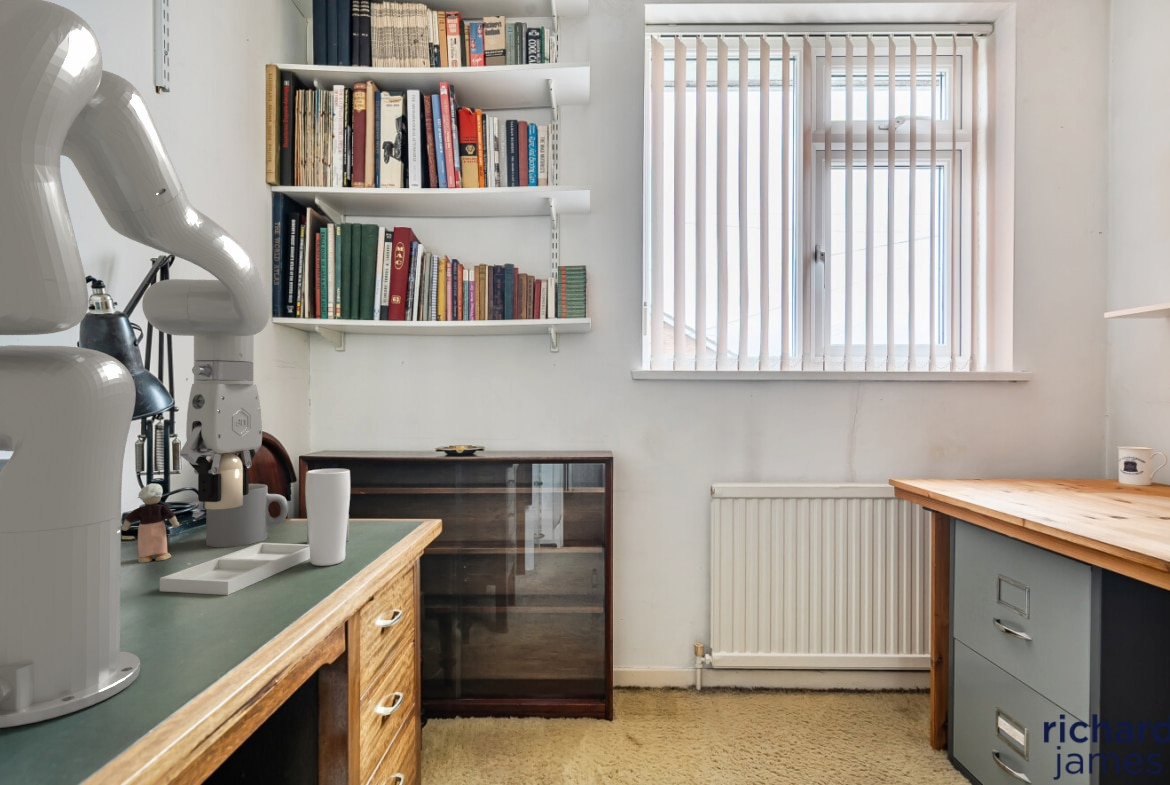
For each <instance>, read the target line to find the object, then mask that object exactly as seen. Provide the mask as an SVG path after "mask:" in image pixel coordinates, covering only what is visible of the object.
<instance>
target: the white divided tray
mask: <svg viewBox="0 0 1170 785" xmlns="http://www.w3.org/2000/svg"><path fill="white" fill-rule="evenodd" d="M308 560H310V545H309V544H307V543H306V544H303V543H300V544H299V543H276V542H258V543H255V544H252V545H250V546H248V547H244V548H242V549H239V550H237V551H233V552H230V553H227V554H225V555H223V556H220V557H217V558H213V559H211V560H208V561H205V562H203V563H200V564H196V565H193V566H191V567H188V568H184V569H181V570H179V571H177V572H174V573H171V574H168V575H165V576H161V577H160V578H159V592H168V593H170V592H171V593H187V594H203V595H221V596H229V595H231V594H234V593H235V592H238V591H241V590H243V589H245V588H247V587H249V586H252V585H254V584H256V583H258V582H260V581H263V580H265V579H267V578H270V577H272V576H274V575H277V574H279V573H281V572H283V571H286V570H288V569H290V568H292V567H294V566H297V565H299V564H301V563H303V562H306V561H308Z"/></svg>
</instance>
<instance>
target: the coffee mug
mask: <svg viewBox="0 0 1170 785" xmlns="http://www.w3.org/2000/svg"><path fill="white" fill-rule="evenodd" d="M268 488H269V487H268V485H267V484H263V483H262V484H261V483H249V492H248V494H247V495H243V505H242V506H239V507H235V508H229V509H205V510H206V515H205V519H206V520H205V521H206V524H205V525H206V528H205V530H206V531H205V532H206V533H205V534H206V535H205V544H206V546H208V547H213V548H214V547H215V548H232V547H240V546H241V547H242V546H249V545H255V544H259V543H262V542H263V541H266V540H267V539H268V533H269V531H270V529H271V528H273V527H275V526H278V525H280V524H282V523H283V522H284V521H285V520H286V518H287V516H288V513H289V512H288V511H289V503H288V500H287V499H286V497H285V496H283V495H281V494H277V493H268ZM272 502H277V503H278V504H279V506H280V513H279V514H278V516H276V517H273V516H271V515H270V512H269V508H270V504H272Z"/></svg>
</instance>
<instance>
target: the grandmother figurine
mask: <svg viewBox="0 0 1170 785" xmlns="http://www.w3.org/2000/svg"><path fill="white" fill-rule="evenodd" d="M163 492H164V491H163V486H162V485H161V484H159V483H149V484H146V485H145V486H144V487H142V488H141V490H140V491H139V492H138V497H137V498H138V499H140V500H141V501H142V503H144V504H145V505H144V506H143V505H142V506H139V507H137V508H135V509H134V510H132V511H131V512H129V513H128V514H127V515H126V516H125V517H124V519H125V520H124V521H123V524H121V531H126V532H127V531H128V530H129V529H130V526H131V525H132V524H133V523H136V522H139V525H138V530H137V548H138V549H137V550H138V557H139V558H138V559H137V562H138V563H140V564H143V563H144V564H145V563H149V562H152V561H153V559H154V558H153V556H154V555H157V556H156V557H155V559H154V560H155V561H159V562H160V561H166V560H168V559H171V558H172V555H171V554H170V553H169V552H168V540H167V530H166V523H165V521H164V518H165V519H167V520H168V522H169V523H170V525H171V527H172V528H178V527H179V526H180V522H179V521H178V519H177V517H176V514H175V513H174V512H173V511H172V510H171V508H169V507H168V506H166V505H164V504H158V503H160V501H161V498H162V497H163V494H164V493H163Z"/></svg>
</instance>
